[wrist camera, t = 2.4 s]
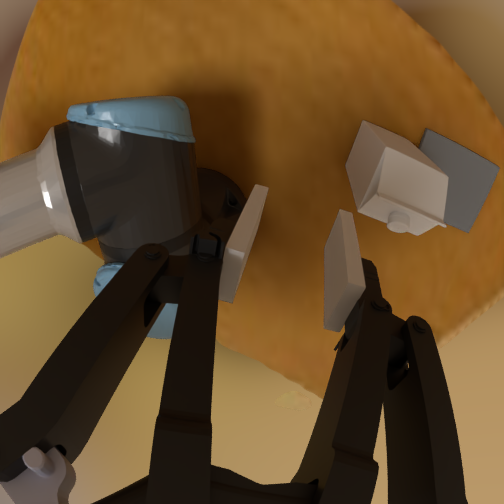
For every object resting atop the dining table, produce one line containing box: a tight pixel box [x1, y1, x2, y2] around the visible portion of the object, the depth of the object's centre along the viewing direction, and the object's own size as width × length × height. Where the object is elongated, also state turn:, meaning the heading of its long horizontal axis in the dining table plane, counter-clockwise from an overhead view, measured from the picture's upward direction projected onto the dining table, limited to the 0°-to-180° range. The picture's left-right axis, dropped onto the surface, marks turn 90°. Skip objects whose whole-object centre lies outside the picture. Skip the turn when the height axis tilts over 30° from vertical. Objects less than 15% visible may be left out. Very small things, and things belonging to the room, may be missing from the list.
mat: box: [418, 128, 500, 233], centre depth 39 cm, size 14×12×1 cm
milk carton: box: [345, 120, 449, 236], centre depth 32 cm, size 7×7×19 cm
